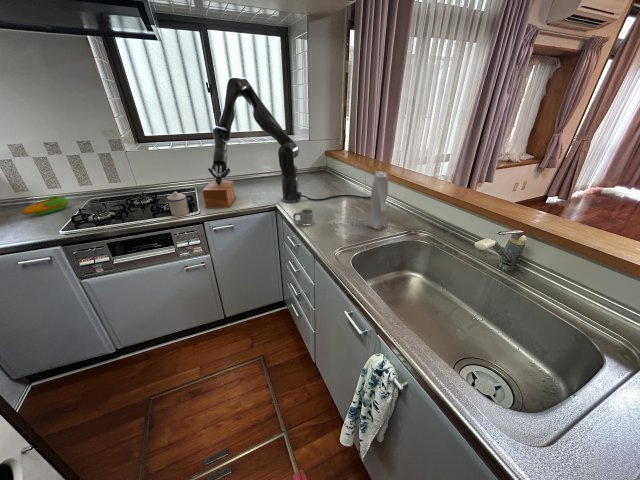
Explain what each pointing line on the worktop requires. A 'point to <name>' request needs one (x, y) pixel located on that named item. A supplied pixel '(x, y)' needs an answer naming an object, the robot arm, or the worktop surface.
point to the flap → (213, 183)
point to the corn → (46, 206)
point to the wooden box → (218, 196)
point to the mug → (305, 217)
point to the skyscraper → (379, 201)
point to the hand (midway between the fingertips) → (218, 183)
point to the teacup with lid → (178, 204)
